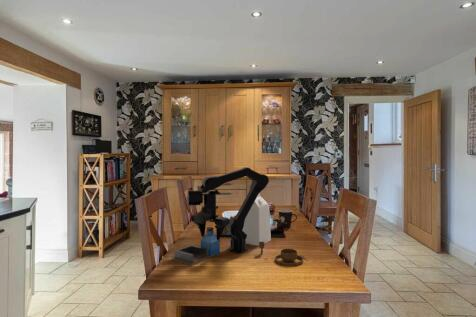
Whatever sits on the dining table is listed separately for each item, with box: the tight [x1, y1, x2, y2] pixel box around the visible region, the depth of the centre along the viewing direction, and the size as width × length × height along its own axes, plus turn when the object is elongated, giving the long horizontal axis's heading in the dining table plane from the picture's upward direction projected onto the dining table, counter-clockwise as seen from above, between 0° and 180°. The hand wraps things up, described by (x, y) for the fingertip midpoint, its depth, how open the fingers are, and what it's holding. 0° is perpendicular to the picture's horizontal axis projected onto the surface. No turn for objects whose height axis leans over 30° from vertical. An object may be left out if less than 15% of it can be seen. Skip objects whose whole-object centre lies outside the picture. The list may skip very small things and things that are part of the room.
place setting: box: [258, 242, 309, 267], centre depth 135 cm, size 18×20×6 cm
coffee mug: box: [278, 209, 298, 229], centre depth 192 cm, size 12×9×10 cm
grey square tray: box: [171, 244, 212, 267], centre depth 135 cm, size 12×12×4 cm
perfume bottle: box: [200, 226, 221, 258], centre depth 141 cm, size 6×6×12 cm
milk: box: [242, 192, 272, 247], centre depth 161 cm, size 12×12×26 cm
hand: (210, 238), depth 141 cm, fingers open, 9 cm apart
